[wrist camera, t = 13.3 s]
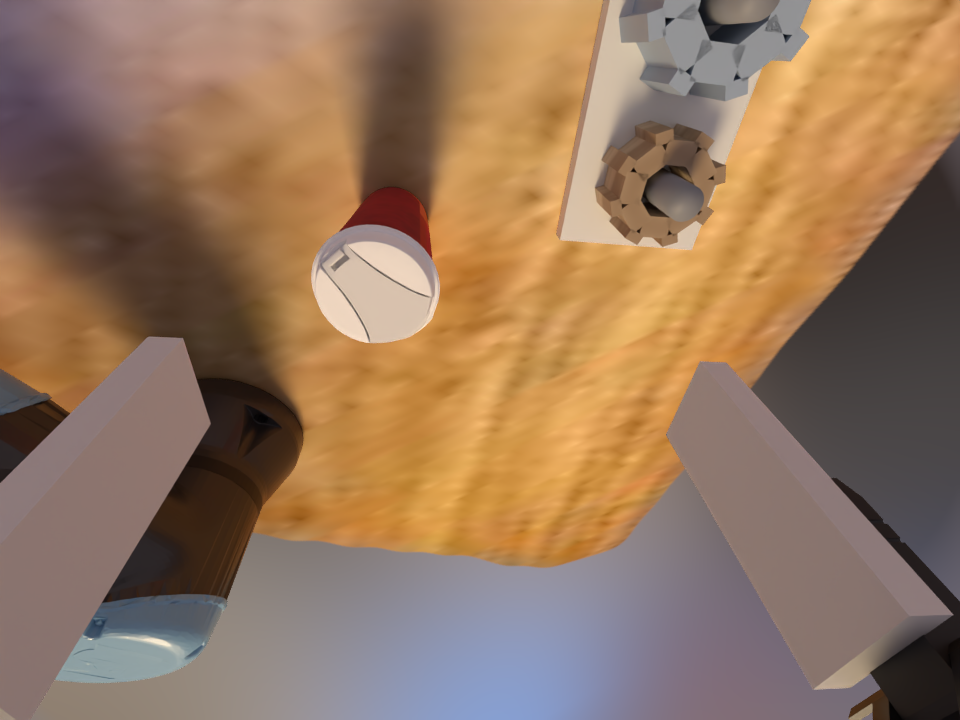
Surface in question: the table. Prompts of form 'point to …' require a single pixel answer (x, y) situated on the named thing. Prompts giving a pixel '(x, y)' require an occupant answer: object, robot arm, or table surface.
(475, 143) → the table surface
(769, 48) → the gray gear
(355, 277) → the paper cup
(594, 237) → the gear board
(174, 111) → the table surface
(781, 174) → the table surface
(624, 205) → the beech gear
